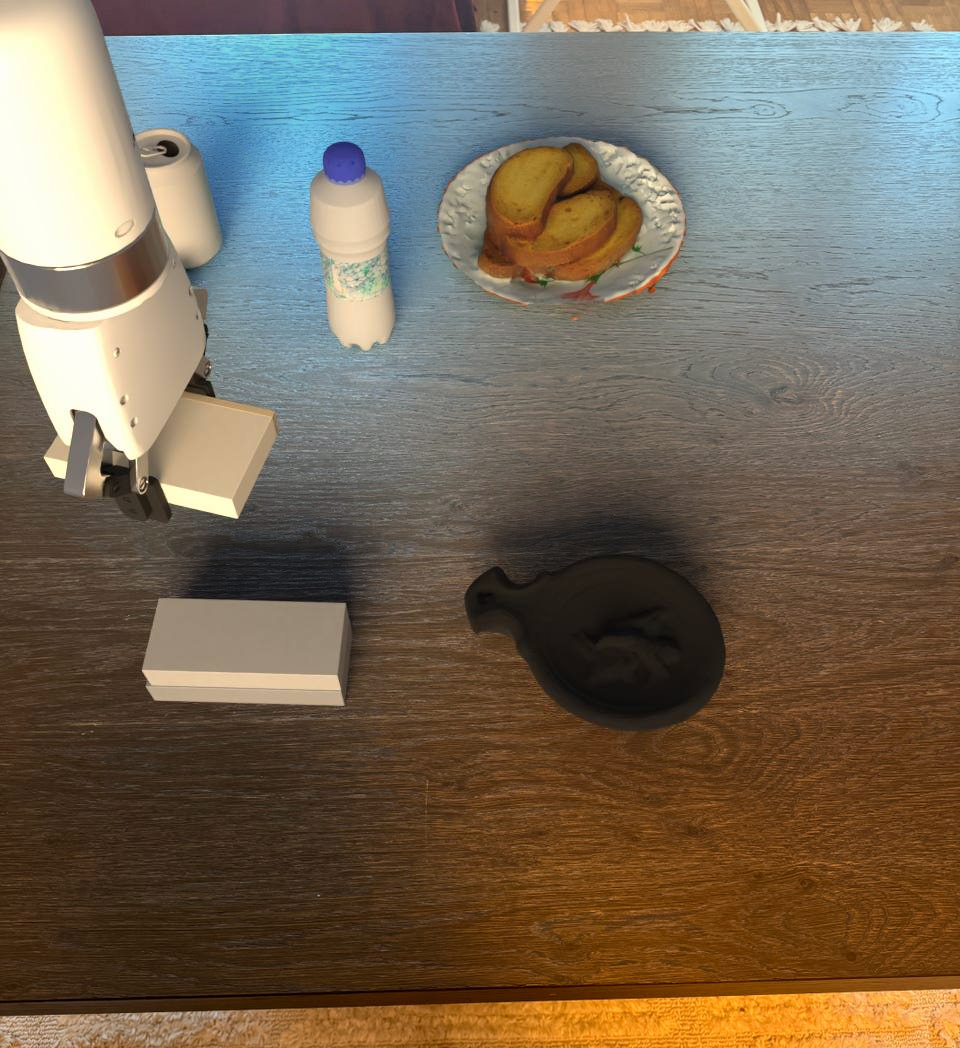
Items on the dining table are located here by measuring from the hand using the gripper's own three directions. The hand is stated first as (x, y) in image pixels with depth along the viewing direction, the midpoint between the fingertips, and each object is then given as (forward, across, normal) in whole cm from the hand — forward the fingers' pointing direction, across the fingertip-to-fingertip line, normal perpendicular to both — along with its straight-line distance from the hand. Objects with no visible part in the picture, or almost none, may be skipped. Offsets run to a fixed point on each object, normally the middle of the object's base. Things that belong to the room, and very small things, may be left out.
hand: (173, 464), depth 61 cm
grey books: (+17, +5, +4) cm, 18 cm away
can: (+18, -37, -20) cm, 45 cm away
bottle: (+17, -30, +1) cm, 35 cm away
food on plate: (+17, -49, +17) cm, 55 cm away
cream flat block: (-1, 0, 0) cm, 1 cm away
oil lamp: (+17, -3, +28) cm, 33 cm away
